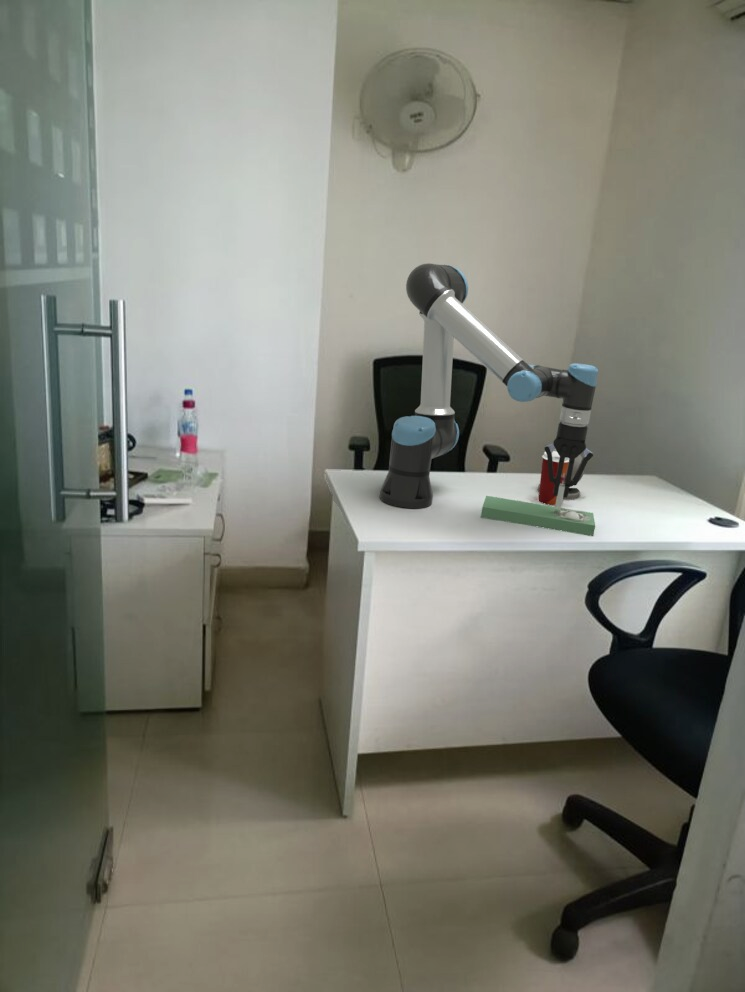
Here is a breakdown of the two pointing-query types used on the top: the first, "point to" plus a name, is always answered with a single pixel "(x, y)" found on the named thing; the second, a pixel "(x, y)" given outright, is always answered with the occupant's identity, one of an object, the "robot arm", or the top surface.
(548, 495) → the coffee cup
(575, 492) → the webcam
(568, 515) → the ball
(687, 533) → the top surface
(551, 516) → the putting strip
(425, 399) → the robot arm
